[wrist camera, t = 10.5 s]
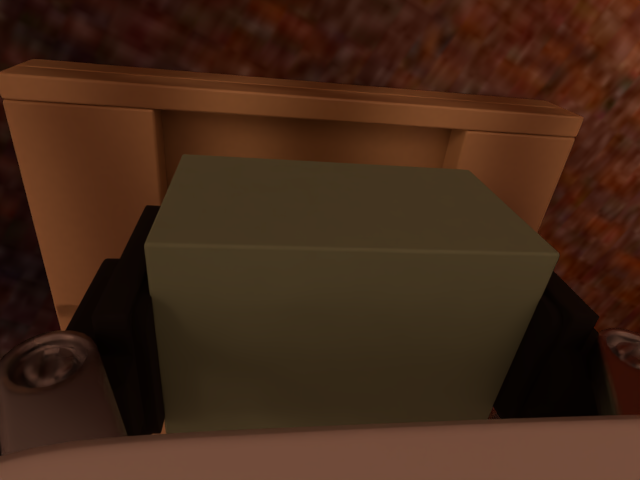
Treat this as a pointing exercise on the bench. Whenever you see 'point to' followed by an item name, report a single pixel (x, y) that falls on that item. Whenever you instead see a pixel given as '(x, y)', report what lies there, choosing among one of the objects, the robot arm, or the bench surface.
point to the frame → (242, 144)
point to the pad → (336, 293)
